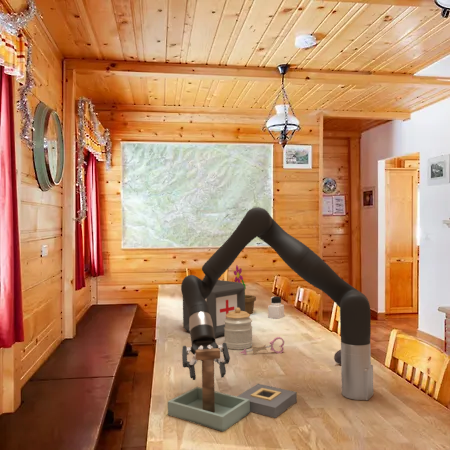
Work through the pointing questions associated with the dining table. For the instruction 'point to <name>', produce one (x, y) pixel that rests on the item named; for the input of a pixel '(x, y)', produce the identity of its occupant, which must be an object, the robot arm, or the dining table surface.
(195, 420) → the tray
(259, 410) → the plate
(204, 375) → the t key
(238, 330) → the jar
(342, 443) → the dining table surface
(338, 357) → the perforated stone tool
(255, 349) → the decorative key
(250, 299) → the flowerpot
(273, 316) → the medicine bottle
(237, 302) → the first aid kit
